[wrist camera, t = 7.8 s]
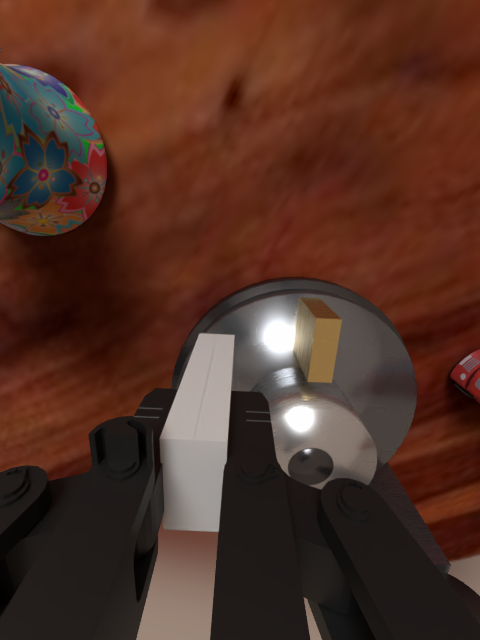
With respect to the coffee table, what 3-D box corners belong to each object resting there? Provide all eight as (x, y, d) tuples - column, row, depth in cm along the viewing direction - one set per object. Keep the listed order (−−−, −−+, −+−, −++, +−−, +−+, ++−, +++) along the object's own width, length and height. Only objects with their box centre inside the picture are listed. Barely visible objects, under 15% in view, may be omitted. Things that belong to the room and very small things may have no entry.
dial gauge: (321, 482, 26) (394, 711, 14) (329, 431, 24) (421, 640, 12) (393, 484, 26) (529, 712, 14) (407, 434, 24) (573, 643, 12)
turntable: (180, 483, 24) (164, 556, 19) (176, 282, 19) (153, 306, 14) (380, 489, 24) (420, 562, 19) (429, 294, 19) (500, 321, 14)
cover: (238, 453, 21) (238, 513, 17) (247, 363, 19) (250, 405, 15) (336, 459, 21) (362, 520, 17) (357, 371, 19) (392, 415, 15)
